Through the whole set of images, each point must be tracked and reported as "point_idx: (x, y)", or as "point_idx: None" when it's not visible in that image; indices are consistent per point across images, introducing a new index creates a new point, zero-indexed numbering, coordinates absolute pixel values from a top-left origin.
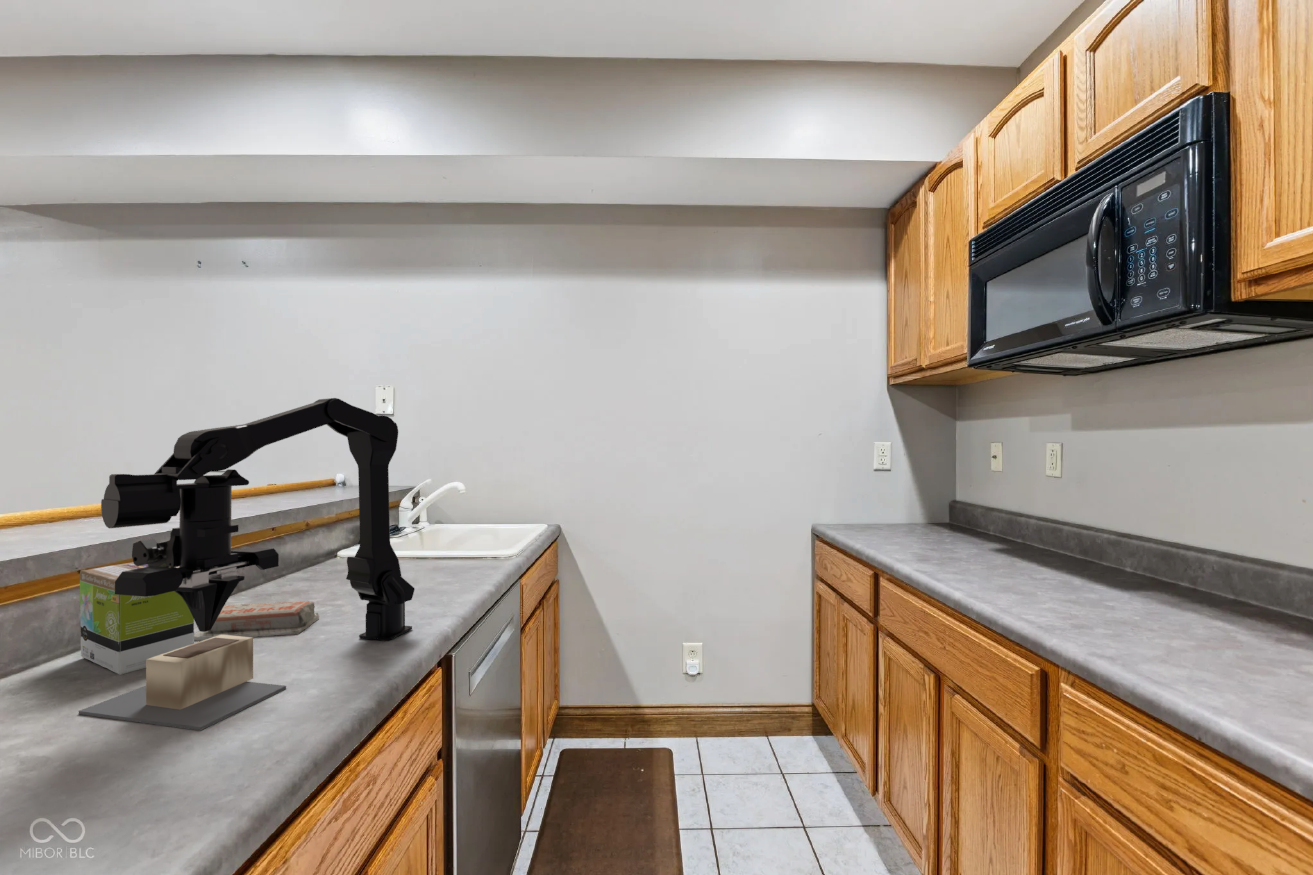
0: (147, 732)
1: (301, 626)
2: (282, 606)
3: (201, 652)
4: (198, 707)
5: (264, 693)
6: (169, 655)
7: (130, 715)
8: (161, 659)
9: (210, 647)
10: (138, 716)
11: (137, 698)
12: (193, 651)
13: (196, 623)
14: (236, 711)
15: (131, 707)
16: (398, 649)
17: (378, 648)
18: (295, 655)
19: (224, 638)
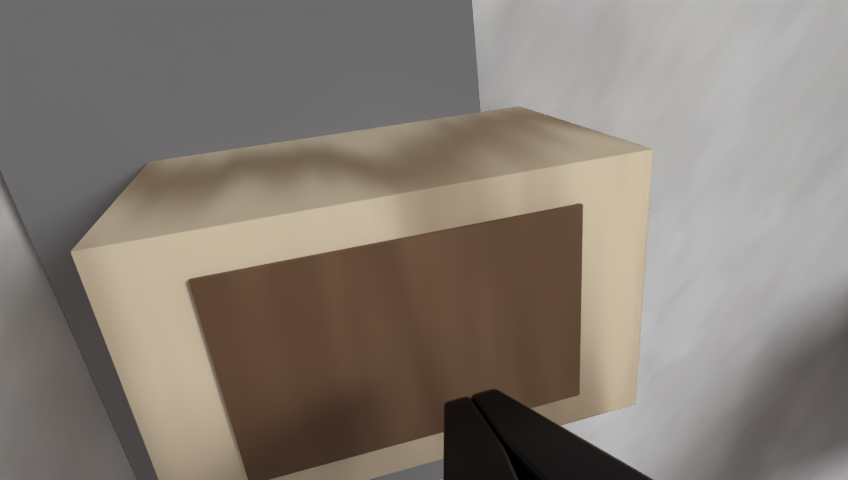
0: (54, 428)
1: None
2: None
3: (344, 451)
4: None
5: (436, 465)
6: (207, 338)
7: (51, 231)
8: (142, 358)
9: (427, 399)
10: (71, 278)
11: (158, 16)
12: (334, 390)
13: (444, 455)
14: None
15: (90, 125)
16: (832, 436)
17: (841, 375)
18: (772, 157)
19: (581, 284)
